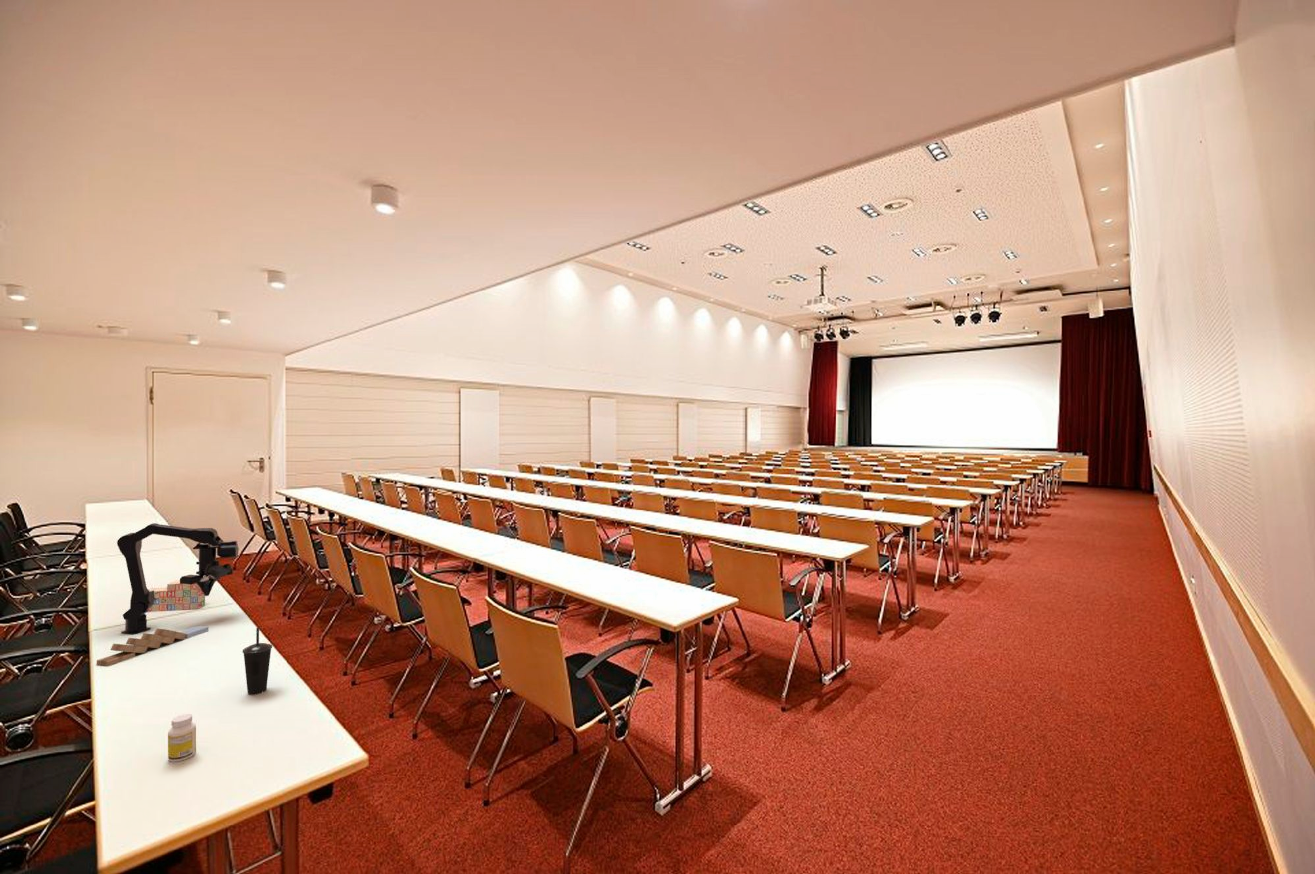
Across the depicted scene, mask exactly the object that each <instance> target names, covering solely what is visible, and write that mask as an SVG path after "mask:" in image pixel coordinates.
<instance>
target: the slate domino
mask: <svg viewBox="0 0 1315 874" xmlns="http://www.w3.org/2000/svg"><path fill="white" fill-rule="evenodd" d="M179 632H180V633H185V634H187V635H186V637H185V639H187V640H188V639H190V638H192V637H193V638H194V637H196V636H199V635H201V634H205V633H207V632H208V633H209V626H205V625H196V626H193V627H191V628H188V629H185V630H181V631H179Z"/></svg>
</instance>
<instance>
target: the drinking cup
mask: <svg viewBox="0 0 1315 874" xmlns="http://www.w3.org/2000/svg"><path fill="white" fill-rule="evenodd" d="M255 629H256V630H255V631H256V634H255V635H256V637H255V638H256V640H255V642H256V643H254V644H250V645H249V646H247V647H245V648H243V649H242V654H243V658H244V659H243V660H244V670H245V682H246V689H247V694H248V695H250V696H256V695H260V694H263V693H265V692H266V691H267V686H268V677H269V671H270V662H271V661H270V659H271V652H272V649H273V645H272V644H271V643H265V642H260V627H256V628H255ZM262 692H263V693H262ZM255 694H256V695H255Z"/></svg>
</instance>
